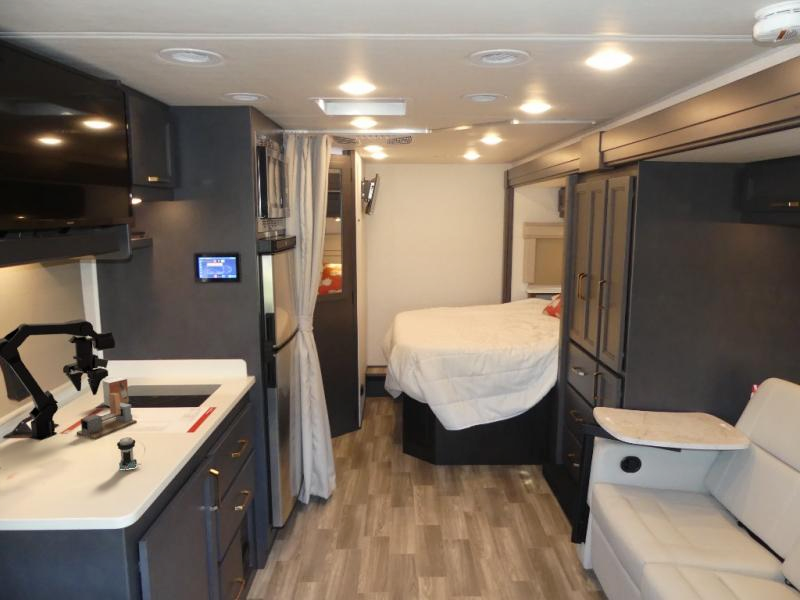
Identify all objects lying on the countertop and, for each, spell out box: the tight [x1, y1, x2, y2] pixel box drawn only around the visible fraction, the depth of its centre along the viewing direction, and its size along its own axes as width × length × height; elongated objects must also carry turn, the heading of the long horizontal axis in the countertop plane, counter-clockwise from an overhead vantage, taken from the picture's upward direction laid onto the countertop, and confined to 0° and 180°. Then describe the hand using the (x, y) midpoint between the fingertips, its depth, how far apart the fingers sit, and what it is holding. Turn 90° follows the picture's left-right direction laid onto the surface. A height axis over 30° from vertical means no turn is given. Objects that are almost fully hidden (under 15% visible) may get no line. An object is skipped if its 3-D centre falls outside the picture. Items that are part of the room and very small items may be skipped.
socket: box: [116, 403, 134, 422], centre depth 227 cm, size 3×6×6 cm, turn 65°
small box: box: [102, 376, 129, 407], centre depth 248 cm, size 8×6×10 cm
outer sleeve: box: [80, 414, 103, 435], centre depth 215 cm, size 6×4×6 cm
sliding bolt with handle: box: [101, 393, 123, 422], centre depth 221 cm, size 14×3×9 cm, turn 154°
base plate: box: [76, 417, 138, 440], centre depth 221 cm, size 18×10×1 cm, turn 154°
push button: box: [116, 436, 142, 471], centre depth 187 cm, size 7×5×10 cm
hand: (86, 392), depth 223 cm, fingers open, 9 cm apart
